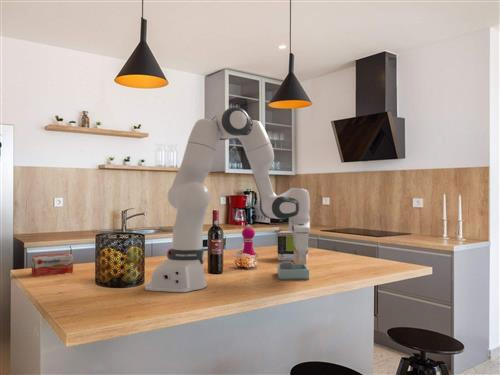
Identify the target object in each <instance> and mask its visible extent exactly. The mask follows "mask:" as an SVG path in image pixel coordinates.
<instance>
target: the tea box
mask: <svg viewBox="0 0 500 375" xmlns="http://www.w3.org/2000/svg"><path fill="white" fill-rule="evenodd" d="M276 235H277V238H276V239H277V261H291V262H292V261H293V262H294V251H296V248H295V246H294V245H293V234H292V231H290V230H280V231H278V232H277V234H276ZM308 258H309V246H308V247H307V251H306V262H307V261H308Z"/></svg>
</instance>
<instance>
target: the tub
mask: <svg viewBox="0 0 500 375" xmlns="http://www.w3.org/2000/svg"><path fill="white" fill-rule="evenodd" d="M281 268H282V263H277V276H278V280H285V281H286V280H287V281H288V280H290V281H292V280H294V281H295V280H299V281H302V280H303V281H309V280H310V269H309V267H308V266H307V264H300V265H297V264H295V263H292V269H281Z"/></svg>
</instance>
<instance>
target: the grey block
mask: <svg viewBox="0 0 500 375" xmlns="http://www.w3.org/2000/svg"><path fill="white" fill-rule="evenodd" d="M281 264H282V268H281V269H292V264H293V263H292V261H284V260H281Z"/></svg>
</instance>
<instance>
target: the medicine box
mask: <svg viewBox="0 0 500 375" xmlns="http://www.w3.org/2000/svg"><path fill="white" fill-rule="evenodd" d="M73 271H74V256H73V255H72V254H71V253H69V252H63V253H61V252H60V253H49V254H39V255H38V254H37V255H32V257H31V275H33V277H34V278H38V277H39V278H40V276H41V277H51V276H58V274H61V275H66V274H65V273H70V274H73ZM50 275H51V276H50Z"/></svg>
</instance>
